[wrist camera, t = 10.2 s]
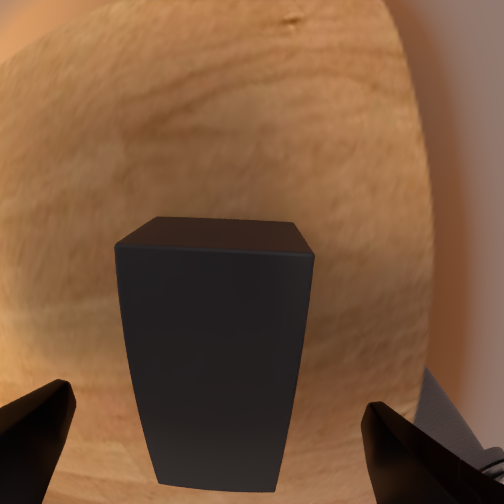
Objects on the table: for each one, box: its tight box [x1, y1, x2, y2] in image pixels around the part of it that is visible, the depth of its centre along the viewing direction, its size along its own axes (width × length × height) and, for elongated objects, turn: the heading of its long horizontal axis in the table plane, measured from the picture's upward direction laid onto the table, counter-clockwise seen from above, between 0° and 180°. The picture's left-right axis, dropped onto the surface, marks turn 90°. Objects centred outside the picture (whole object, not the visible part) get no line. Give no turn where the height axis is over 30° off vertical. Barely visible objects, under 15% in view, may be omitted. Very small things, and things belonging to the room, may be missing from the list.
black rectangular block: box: [114, 217, 315, 492], centre depth 10 cm, size 4×10×4 cm, turn 177°
